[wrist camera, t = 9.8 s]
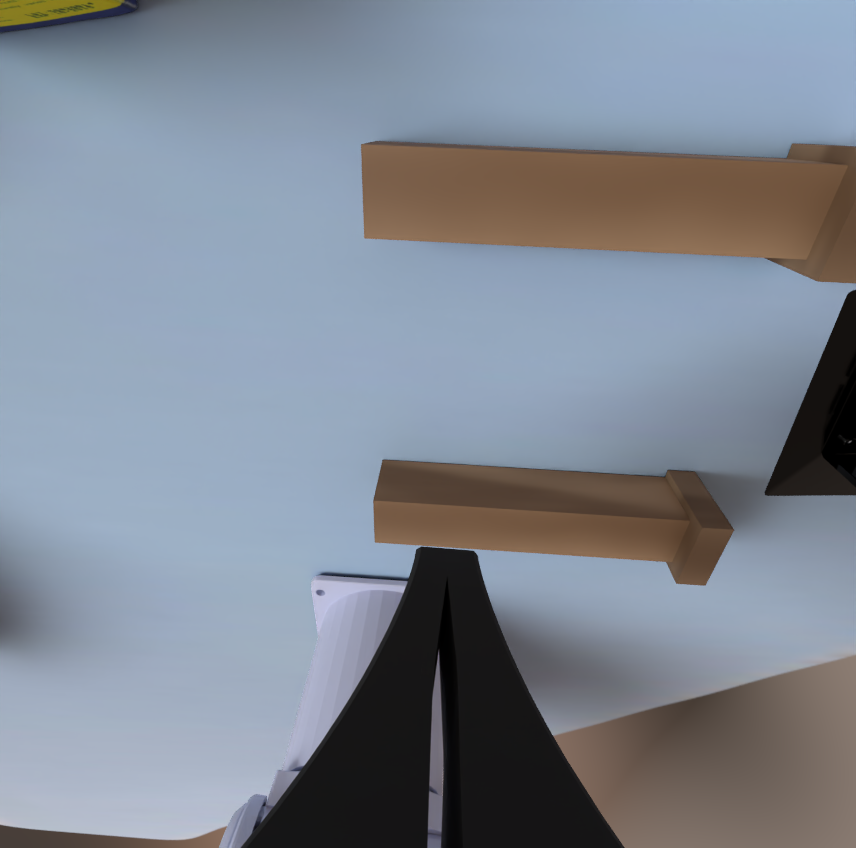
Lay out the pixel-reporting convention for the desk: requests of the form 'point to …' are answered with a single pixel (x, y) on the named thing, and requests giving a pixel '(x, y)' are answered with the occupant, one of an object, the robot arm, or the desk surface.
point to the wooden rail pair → (602, 230)
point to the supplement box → (57, 11)
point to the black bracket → (824, 422)
